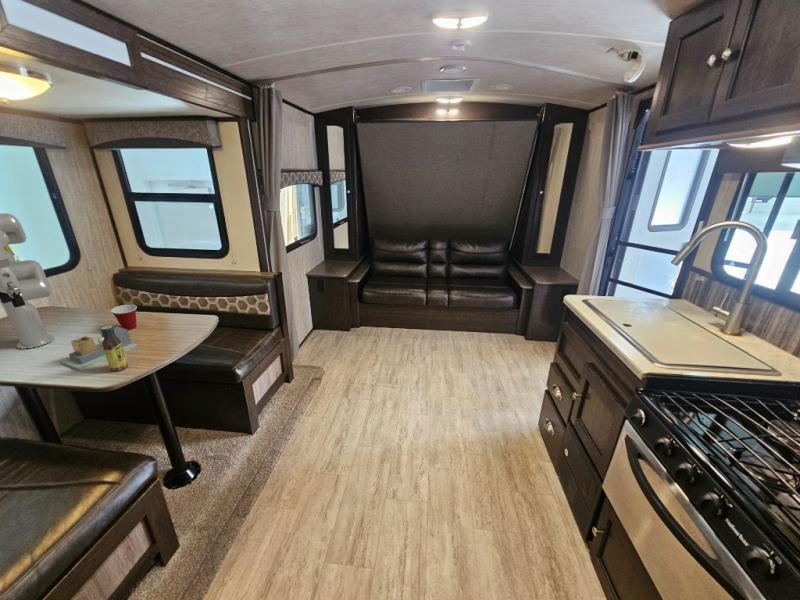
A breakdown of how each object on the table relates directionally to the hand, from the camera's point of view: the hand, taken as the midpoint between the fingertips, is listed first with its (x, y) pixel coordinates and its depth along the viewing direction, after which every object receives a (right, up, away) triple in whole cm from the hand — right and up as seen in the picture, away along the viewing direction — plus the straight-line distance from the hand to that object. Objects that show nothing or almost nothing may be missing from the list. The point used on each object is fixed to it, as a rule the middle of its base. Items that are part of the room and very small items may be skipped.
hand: (13, 304), depth 135 cm
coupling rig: (+20, -24, +18) cm, 36 cm away
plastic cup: (+13, -14, +43) cm, 47 cm away
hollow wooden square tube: (+18, -22, +12) cm, 31 cm away
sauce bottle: (+37, -28, +8) cm, 47 cm away
